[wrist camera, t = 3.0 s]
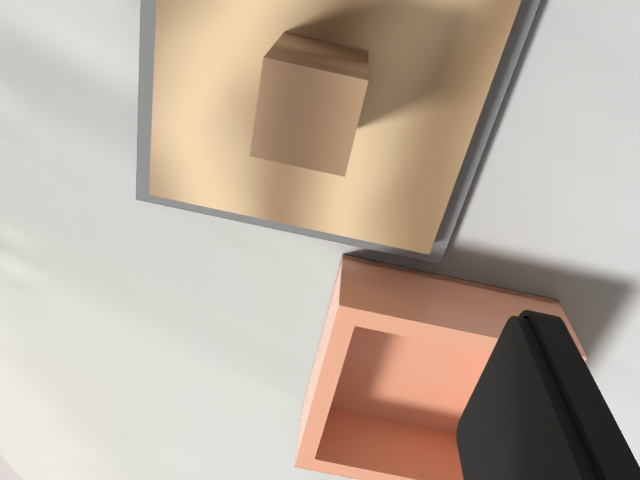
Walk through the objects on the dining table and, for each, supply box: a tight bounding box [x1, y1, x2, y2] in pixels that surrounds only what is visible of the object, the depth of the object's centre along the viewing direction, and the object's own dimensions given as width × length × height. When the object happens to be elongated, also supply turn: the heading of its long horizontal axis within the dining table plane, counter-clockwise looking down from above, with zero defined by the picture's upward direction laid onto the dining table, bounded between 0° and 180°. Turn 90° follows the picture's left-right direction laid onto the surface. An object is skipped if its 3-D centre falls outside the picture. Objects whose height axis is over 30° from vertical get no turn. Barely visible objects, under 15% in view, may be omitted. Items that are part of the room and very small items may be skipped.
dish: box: [294, 254, 587, 480], centre depth 30 cm, size 12×12×4 cm
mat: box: [136, 0, 540, 264], centre depth 24 cm, size 16×16×1 cm
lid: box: [149, 0, 521, 254], centre depth 21 cm, size 14×14×6 cm
